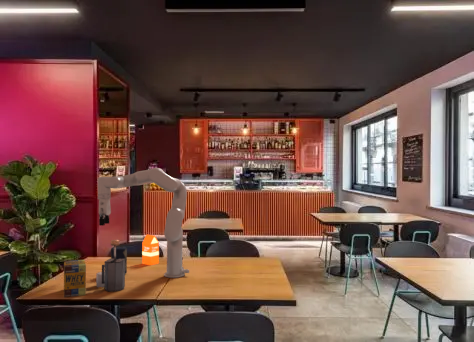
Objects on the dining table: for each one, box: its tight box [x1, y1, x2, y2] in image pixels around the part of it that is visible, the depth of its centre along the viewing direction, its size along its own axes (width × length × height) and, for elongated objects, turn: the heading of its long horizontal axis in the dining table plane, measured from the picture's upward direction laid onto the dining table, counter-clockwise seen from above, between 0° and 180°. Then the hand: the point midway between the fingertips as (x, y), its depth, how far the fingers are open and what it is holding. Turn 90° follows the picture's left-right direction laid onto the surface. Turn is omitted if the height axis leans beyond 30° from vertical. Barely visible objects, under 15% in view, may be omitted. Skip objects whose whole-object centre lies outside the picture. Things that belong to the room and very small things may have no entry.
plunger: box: [110, 239, 120, 263], centre depth 215 cm, size 7×7×13 cm
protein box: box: [63, 259, 87, 298], centre depth 209 cm, size 10×15×16 cm
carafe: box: [101, 258, 126, 293], centre depth 215 cm, size 12×10×16 cm
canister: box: [110, 245, 128, 275], centre depth 246 cm, size 10×10×18 cm
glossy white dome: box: [95, 271, 105, 288], centre depth 221 cm, size 7×7×7 cm
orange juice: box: [141, 234, 160, 266], centre depth 278 cm, size 8×9×20 cm
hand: (104, 224), depth 244 cm, fingers open, 9 cm apart
